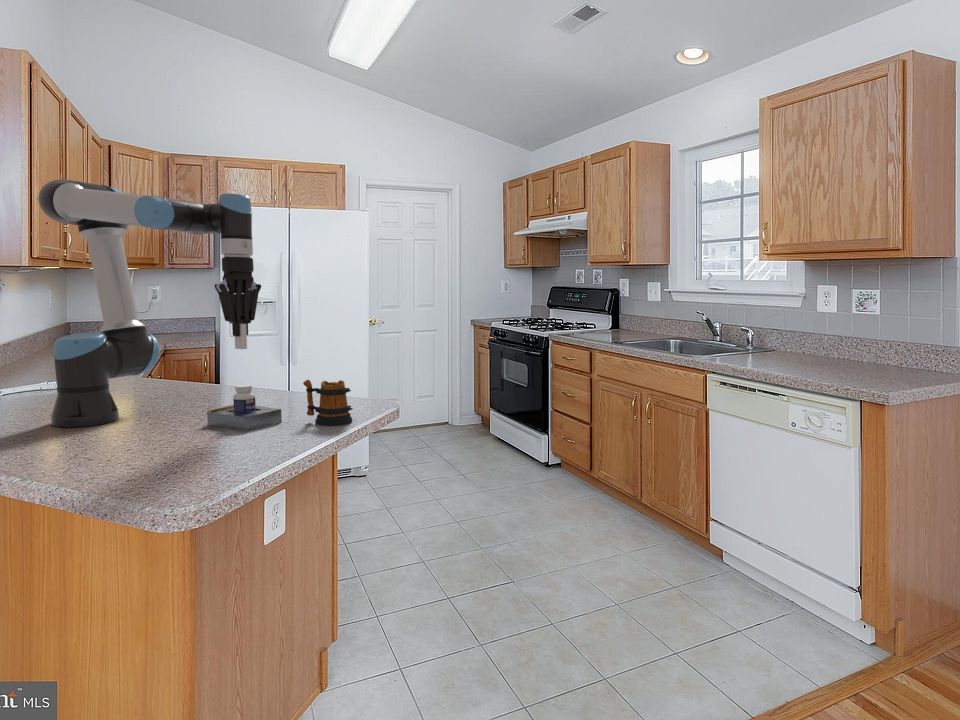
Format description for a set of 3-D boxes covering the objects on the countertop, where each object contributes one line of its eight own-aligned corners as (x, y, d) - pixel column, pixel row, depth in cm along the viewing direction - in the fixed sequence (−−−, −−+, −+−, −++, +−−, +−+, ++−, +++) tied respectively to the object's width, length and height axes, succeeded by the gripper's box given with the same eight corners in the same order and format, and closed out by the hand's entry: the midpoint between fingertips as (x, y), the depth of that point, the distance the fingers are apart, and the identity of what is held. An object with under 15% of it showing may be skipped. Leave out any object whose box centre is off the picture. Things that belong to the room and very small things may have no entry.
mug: (357, 418, 169) (356, 376, 167) (348, 426, 159) (347, 382, 157) (310, 418, 169) (308, 376, 168) (298, 426, 159) (296, 382, 158)
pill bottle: (249, 424, 159) (247, 387, 158) (230, 424, 160) (228, 387, 159) (260, 420, 164) (258, 384, 163) (242, 419, 165) (240, 383, 164)
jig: (207, 425, 160) (206, 409, 160) (245, 416, 171) (244, 402, 170) (244, 431, 153) (244, 415, 153) (281, 421, 164) (281, 406, 163)
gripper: (225, 255, 149) (229, 351, 152) (267, 257, 161) (271, 347, 164) (205, 255, 153) (209, 350, 156) (248, 257, 164) (251, 345, 167)
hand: (241, 348), depth 160 cm, fingers closed
